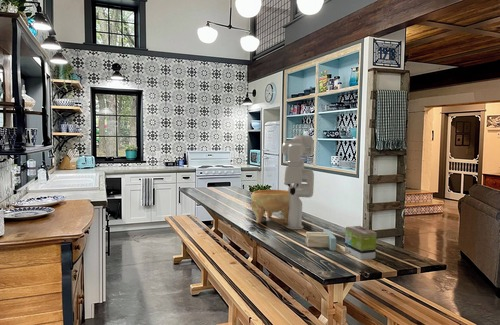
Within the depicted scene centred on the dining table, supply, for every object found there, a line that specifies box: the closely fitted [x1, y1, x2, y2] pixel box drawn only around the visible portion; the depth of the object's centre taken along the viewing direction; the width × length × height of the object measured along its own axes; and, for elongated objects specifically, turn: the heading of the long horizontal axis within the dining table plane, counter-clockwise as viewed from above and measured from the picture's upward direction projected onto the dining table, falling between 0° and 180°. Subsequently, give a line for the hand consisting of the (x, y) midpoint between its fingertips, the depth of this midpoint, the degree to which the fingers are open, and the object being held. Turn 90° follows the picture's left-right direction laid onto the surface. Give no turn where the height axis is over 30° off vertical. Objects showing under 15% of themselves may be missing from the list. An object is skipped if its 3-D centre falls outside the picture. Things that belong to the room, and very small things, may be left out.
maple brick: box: [305, 231, 329, 248], centre depth 221 cm, size 8×12×7 cm, turn 91°
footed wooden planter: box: [250, 189, 289, 224], centre depth 280 cm, size 34×35×23 cm
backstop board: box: [323, 229, 337, 251], centre depth 221 cm, size 20×3×7 cm, turn 1°
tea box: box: [344, 225, 378, 261], centre depth 204 cm, size 15×10×15 cm, turn 21°
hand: (292, 194), depth 225 cm, fingers closed
